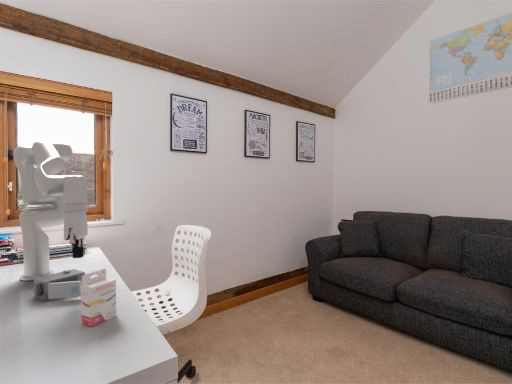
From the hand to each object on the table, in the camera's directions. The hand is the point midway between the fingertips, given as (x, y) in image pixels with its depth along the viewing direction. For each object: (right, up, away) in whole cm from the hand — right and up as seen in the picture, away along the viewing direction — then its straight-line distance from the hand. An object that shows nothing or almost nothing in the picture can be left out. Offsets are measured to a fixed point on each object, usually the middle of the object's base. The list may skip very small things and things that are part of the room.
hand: (78, 257), depth 109 cm
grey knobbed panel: (-9, -15, +4) cm, 18 cm away
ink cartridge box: (+18, -15, -19) cm, 31 cm away
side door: (-3, -14, -4) cm, 15 cm away
